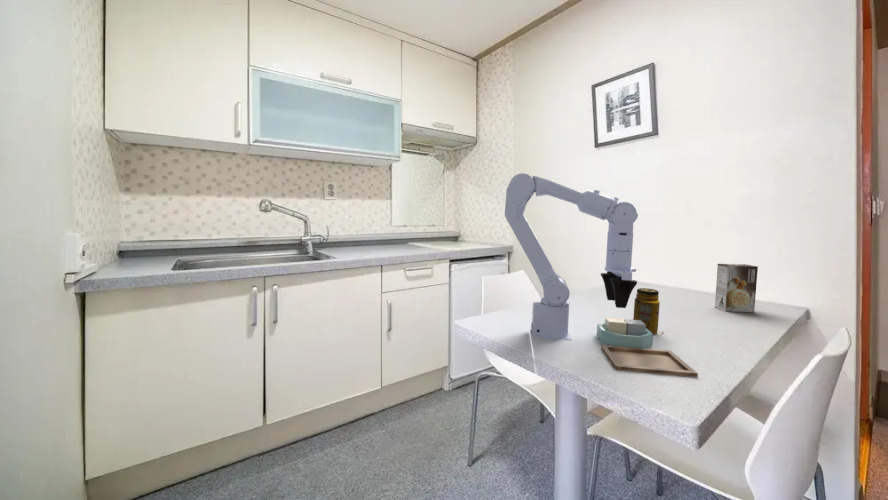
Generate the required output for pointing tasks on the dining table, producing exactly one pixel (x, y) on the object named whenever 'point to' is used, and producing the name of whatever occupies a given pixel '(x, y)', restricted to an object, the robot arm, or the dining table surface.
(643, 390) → the dining table surface
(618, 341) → the bowl
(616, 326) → the beige block
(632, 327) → the grey block
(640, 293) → the condiment
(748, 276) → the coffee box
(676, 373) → the tray
